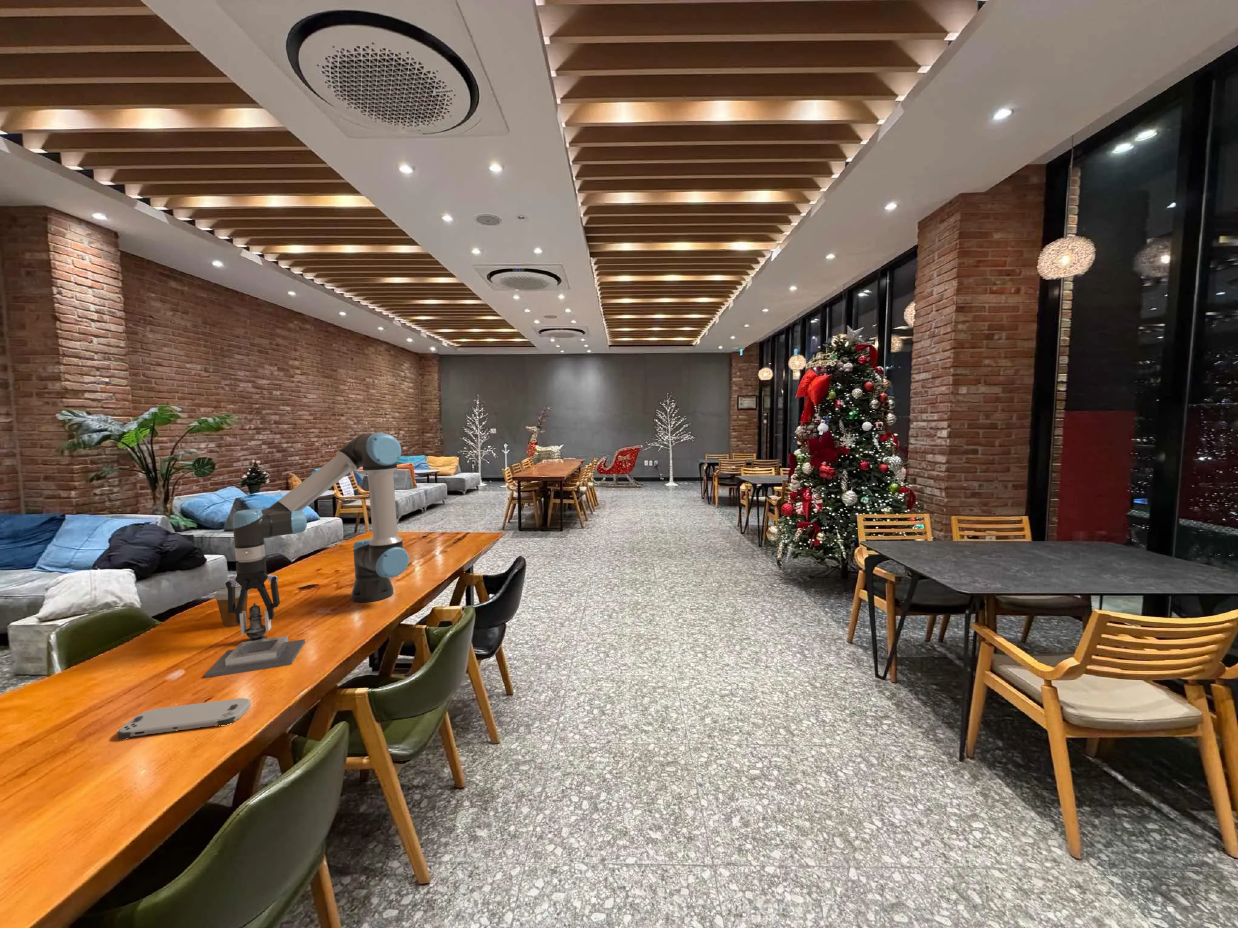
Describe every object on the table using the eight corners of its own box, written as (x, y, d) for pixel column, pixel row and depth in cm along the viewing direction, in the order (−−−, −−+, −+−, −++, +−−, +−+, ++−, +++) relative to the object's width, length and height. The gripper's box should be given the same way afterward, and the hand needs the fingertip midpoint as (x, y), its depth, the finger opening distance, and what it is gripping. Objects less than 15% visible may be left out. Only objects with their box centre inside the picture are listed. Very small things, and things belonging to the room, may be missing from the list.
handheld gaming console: (255, 692, 123) (234, 714, 113) (256, 703, 123) (235, 726, 113) (142, 706, 118) (110, 730, 108) (144, 717, 118) (111, 743, 108)
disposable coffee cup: (258, 618, 179) (255, 585, 178) (235, 629, 169) (232, 594, 168) (233, 618, 180) (231, 585, 179) (209, 628, 170) (206, 594, 169)
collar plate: (305, 642, 157) (304, 631, 157) (291, 664, 142) (290, 652, 142) (227, 653, 151) (227, 641, 150) (205, 677, 136) (204, 665, 135)
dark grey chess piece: (272, 637, 162) (270, 600, 161) (254, 644, 156) (251, 606, 155) (259, 635, 164) (257, 598, 163) (241, 642, 158) (238, 605, 157)
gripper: (209, 565, 151) (215, 640, 153) (282, 558, 158) (287, 630, 159) (219, 559, 158) (225, 631, 160) (288, 553, 165) (293, 622, 166)
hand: (256, 630), depth 160 cm, fingers closed on dark grey chess piece, 6 cm apart
